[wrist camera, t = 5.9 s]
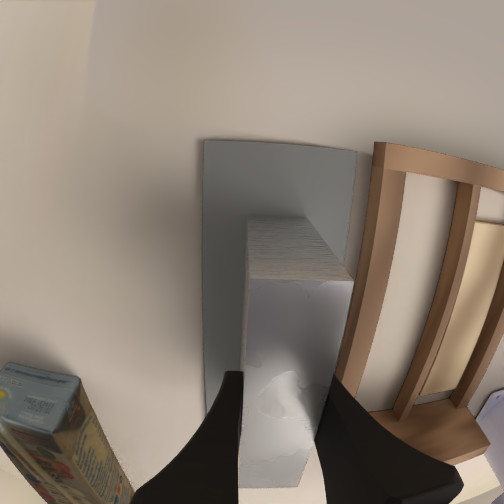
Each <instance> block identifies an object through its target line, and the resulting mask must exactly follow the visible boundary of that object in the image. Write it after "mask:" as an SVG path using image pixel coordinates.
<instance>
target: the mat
mask: <svg viewBox="0 0 504 504" xmlns="http://www.w3.org/2000/svg"><path fill="white" fill-rule="evenodd" d="M356 160H357V151H351V150H343V149H334V148H325V147H316V146H305V145H294V144H281V143H266V142H247V141H219V140H204V161H203V201H202V300H203V340H204V367H205V389H206V407H207V414H208V412H209V410H210V409H211V407H212V405H213V403H214V401H215V398H216V396H217V394H218V392H219V389H220V387H221V384H222V381H223V378H224V373H225V372H226V371H240V358H241V335H242V312H243V290H244V269H245V248H246V227H247V215H262V216H282V217H300V218H308V220H309V221H310V222H311V224H312V225H313V226H314V228H315V229H316V230H317V231H318V233H319V234H320V235H321V237H322V238H323V239H324V241H325V242H326V243H327V245H328V246H329V247H330V249H331V250H332V251H333V253H334V254H335V255H336V257H337V258H338V259H339V261H340V262H341V264H342V265H343V264H344V258H345V251H346V245H347V238H348V231H349V223H350V215H351V207H352V199H353V190H354V181H355V171H356Z"/></svg>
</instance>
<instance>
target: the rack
mask: <svg viewBox="0 0 504 504" xmlns="http://www.w3.org/2000/svg"><path fill="white" fill-rule="evenodd" d="M406 172H410V173H416V174H422V175H427V176H433V177H439V178H444V179H449V180H454V181H459V182H458V190H457V196H456V203H455V209H454V215H453V220H452V226H451V231H450V236H449V241H448V245H447V250H446V254H445V258H444V263H443V267H442V271H441V275H440V278H439V282H438V286H437V289H436V293H435V296H434V300H433V303H432V307H431V310H430V313H429V316H428V319H427V322H426V325H425V328H424V331H423V334H422V337H421V340H420V343H419V346H418V348H417V351H416V354H415V356H414V359H413V362H412V364H411V367H410V369H409V372H408V374H407V377H406V379H405V382H404V384H403V386H402V389H401V391H400V393H399V396H398V398H397V400H396V402H395V404H394V407H393V409H390V410H384V411H376V412H368V413H369V414H370V415H371V416H372V417H373V418H374V419H375V420H376V421H377V422H378V423H380V424H381V425H382V426H383V427H384V428H386V429H387V430H388V431H389V432H391V433H392V434H393V435H395V436H396V437H398V438H399V439H400V440H402V441H404V442H405V443H407V444H408V445H410V446H411V447H413V448H415V449H417V450H419V451H420V452H422V453H424V454H426V455H428V456H430V457H432V458H435V459H437V460H440V461H442V462H445V463H448V464H450V465H456V464H458V463H461V462H464V461H466V460H469V459H472V458H474V457H477V456H479V455H482V454H484V453H485V451H486V450H487V449H488V447H489V446H490V445H491V443H490V442H489V440H488V438H487V437H486V435H485V434H484V432H483V431H482V429H481V427H480V426H479V424H478V423H477V421H476V420H475V418H474V417H473V415H472V414H471V412H470V411H469V409H468V408H467V405H468V403H469V402H470V400H471V398H472V396H473V395H474V393H475V391H476V389H477V387H478V385H479V384H480V382H481V380H482V378H483V376H484V374H485V372H486V370H487V368H488V366H489V364H490V362H491V360H492V357H493V355H494V353H495V351H496V349H497V347H498V344H499V342H500V340H501V337H502V335H503V333H504V262H503V266H502V269H501V273H500V276H499V280H498V283H497V286H496V289H495V292H494V295H493V298H492V301H491V304H490V307H489V310H488V313H487V316H486V319H485V322H484V324H483V327H482V330H481V332H480V335H479V337H478V340H477V342H476V345H475V347H474V350H473V352H472V354H471V357H470V359H469V361H468V364H467V366H466V368H465V370H464V372H463V374H462V377H461V379H460V381H459V383H458V385H457V387H456V389H454V391H453V392H452V394H451V396H450V398H449V399H445V400H440V401H435V402H430V403H425V404H420V405H415V406H413V404H414V402H415V400H416V398H417V396H418V394H419V392H420V390H421V388H422V386H423V383H424V381H425V379H426V377H427V374H428V372H429V370H430V367H431V365H432V363H433V360H434V358H435V355H436V353H437V350H438V348H439V345H440V343H441V340H442V337H443V335H444V332H445V329H446V326H447V324H448V321H449V318H450V315H451V312H452V309H453V306H454V303H455V299H456V296H457V293H458V290H459V286H460V283H461V279H462V276H463V272H464V268H465V264H466V260H467V256H468V252H469V248H470V244H471V239H472V234H473V230H474V225H475V219H476V214H477V208H478V202H479V196H480V189H481V186H482V187H487V188H491V189H495V190H500V191H504V170H502V169H499V168H495V167H492V166H488V165H485V164H481V163H478V162H473V161H470V160H466V159H462V158H458V157H454V156H450V155H446V154H441V153H437V152H433V151H428V150H423V149H418V148H413V147H408V146H402V145H398V144H392V143H386V142H374V152H373V163H372V173H371V182H370V191H369V199H368V207H367V214H366V222H365V228H364V235H363V242H362V248H361V254H360V260H359V266H358V271H357V277H356V282H355V287H354V292H353V297H352V302H351V307H350V312H349V316H348V321H347V326H346V330H345V334H344V339H343V343H342V347H341V351H340V355H339V359H338V363H337V367H336V371H335V376H336V377H337V378H338V379H339V381H340V382H341V383H342V384H343V386H344V387H345V388H346V389H347V390H348V391H349V393H350V394H351V395H352V396H353V397H354V398H355V395H356V392H357V389H358V387H359V384H360V381H361V378H362V374H363V371H364V368H365V365H366V362H367V359H368V355H369V352H370V349H371V345H372V342H373V338H374V335H375V331H376V327H377V324H378V320H379V316H380V312H381V308H382V304H383V300H384V296H385V292H386V287H387V283H388V278H389V274H390V269H391V264H392V259H393V254H394V249H395V244H396V238H397V233H398V227H399V221H400V214H401V208H402V201H403V194H404V186H405V178H406Z"/></svg>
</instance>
